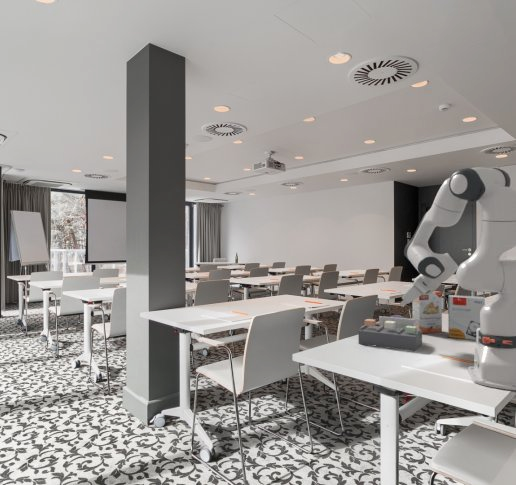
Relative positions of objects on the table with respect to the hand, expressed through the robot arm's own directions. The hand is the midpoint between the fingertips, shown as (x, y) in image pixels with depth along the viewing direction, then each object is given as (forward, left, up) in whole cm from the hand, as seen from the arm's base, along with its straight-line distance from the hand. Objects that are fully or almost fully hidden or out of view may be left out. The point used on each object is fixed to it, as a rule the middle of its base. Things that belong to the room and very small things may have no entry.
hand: (401, 305), depth 171 cm
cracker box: (+36, -5, -18) cm, 40 cm away
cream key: (0, +5, -10) cm, 12 cm away
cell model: (+22, +7, -18) cm, 29 cm away
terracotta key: (0, +14, -10) cm, 17 cm away
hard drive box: (+32, -23, -18) cm, 43 cm away
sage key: (0, -4, -12) cm, 12 cm away
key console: (+2, +5, -18) cm, 19 cm away
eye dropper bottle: (+16, -31, -18) cm, 39 cm away
